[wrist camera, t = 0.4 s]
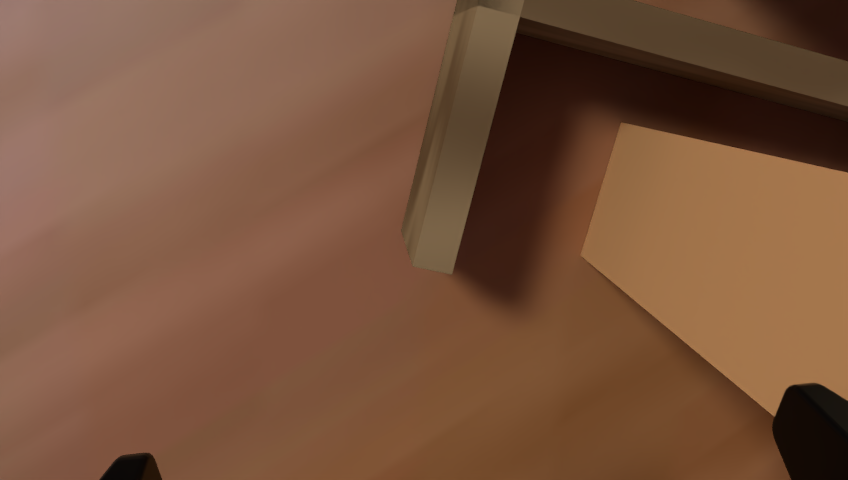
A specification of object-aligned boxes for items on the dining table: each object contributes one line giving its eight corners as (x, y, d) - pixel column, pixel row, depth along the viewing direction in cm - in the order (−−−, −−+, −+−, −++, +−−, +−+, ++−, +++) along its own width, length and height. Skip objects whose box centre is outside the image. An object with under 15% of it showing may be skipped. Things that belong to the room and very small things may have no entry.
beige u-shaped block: (851, 327, 28) (944, 376, 23) (401, 230, 25) (412, 266, 20) (938, 111, 26) (1057, 121, 22) (462, -22, 23) (489, -41, 19)
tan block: (702, 282, 27) (1068, 509, 13) (580, 255, 26) (835, 468, 12) (747, 154, 26) (1195, 258, 12) (620, 122, 25) (949, 195, 11)
